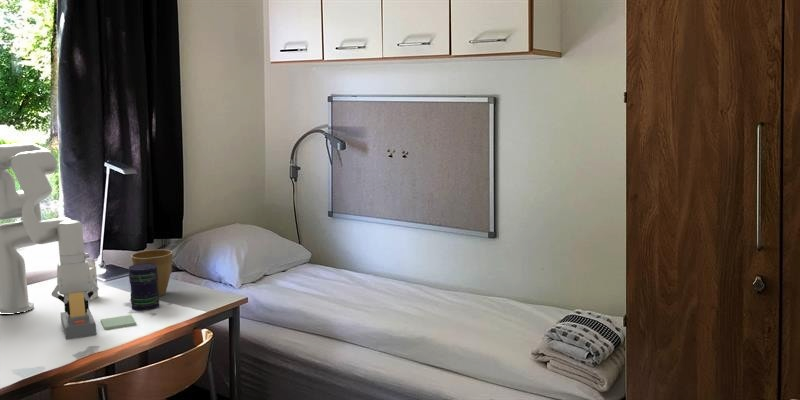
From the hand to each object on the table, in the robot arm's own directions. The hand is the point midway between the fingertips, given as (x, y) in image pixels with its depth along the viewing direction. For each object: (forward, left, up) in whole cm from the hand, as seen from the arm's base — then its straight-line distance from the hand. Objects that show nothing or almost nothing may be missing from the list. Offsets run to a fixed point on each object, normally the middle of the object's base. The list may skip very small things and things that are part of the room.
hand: (77, 312), depth 258 cm
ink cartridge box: (-39, +6, -6) cm, 40 cm away
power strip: (0, 0, -6) cm, 6 cm away
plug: (0, 0, -6) cm, 6 cm away
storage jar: (-15, +24, -6) cm, 29 cm away
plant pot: (-30, +30, -6) cm, 43 cm away
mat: (0, +12, -6) cm, 14 cm away
